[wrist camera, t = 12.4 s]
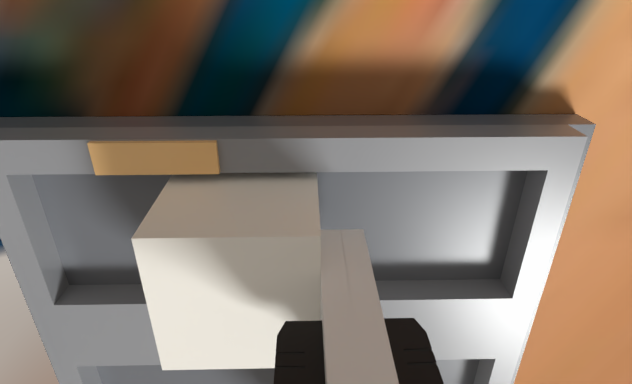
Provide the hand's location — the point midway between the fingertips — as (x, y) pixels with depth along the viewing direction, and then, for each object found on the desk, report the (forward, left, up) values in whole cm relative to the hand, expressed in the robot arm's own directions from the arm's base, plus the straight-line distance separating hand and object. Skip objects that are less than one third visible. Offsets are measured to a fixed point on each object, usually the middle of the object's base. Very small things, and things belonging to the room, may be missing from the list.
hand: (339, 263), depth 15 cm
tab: (-3, 0, -2) cm, 4 cm away
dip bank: (-2, -4, -4) cm, 6 cm away
